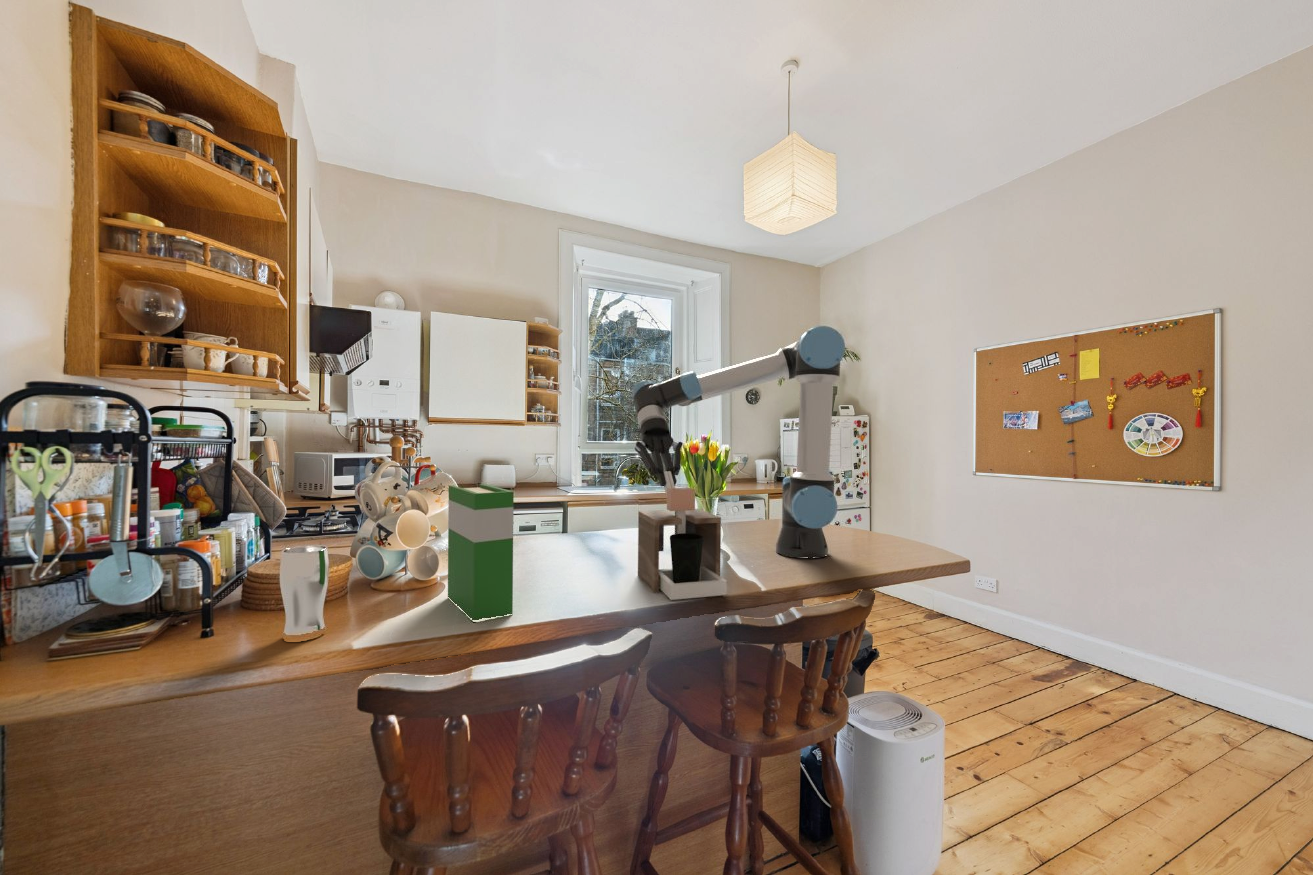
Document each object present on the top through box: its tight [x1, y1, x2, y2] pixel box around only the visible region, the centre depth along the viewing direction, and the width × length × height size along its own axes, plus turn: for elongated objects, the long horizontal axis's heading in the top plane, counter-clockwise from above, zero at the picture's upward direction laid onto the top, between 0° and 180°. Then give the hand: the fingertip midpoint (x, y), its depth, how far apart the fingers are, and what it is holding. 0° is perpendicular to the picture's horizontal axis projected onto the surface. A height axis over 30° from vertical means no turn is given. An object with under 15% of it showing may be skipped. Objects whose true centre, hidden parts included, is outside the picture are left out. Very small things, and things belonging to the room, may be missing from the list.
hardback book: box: [447, 483, 515, 620], centre depth 103 cm, size 18×7×24 cm, turn 37°
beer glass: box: [279, 544, 330, 635], centre depth 88 cm, size 7×7×15 cm
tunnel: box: [637, 508, 722, 594], centre depth 123 cm, size 16×14×16 cm
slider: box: [658, 487, 728, 601], centre depth 116 cm, size 13×14×22 cm
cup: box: [669, 533, 703, 583], centre depth 117 cm, size 8×8×12 cm
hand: (671, 495), depth 123 cm, fingers closed
